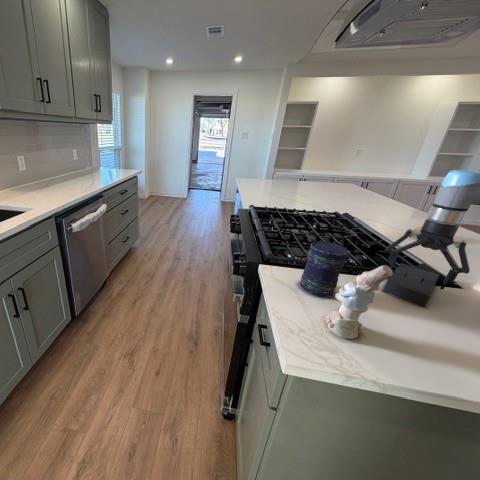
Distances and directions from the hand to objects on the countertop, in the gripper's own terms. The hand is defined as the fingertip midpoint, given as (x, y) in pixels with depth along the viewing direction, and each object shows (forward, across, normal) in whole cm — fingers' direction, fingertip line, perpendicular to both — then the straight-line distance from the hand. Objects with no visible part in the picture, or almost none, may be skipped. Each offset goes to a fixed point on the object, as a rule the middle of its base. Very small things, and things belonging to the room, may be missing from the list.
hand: (414, 279), depth 88 cm
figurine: (+1, +7, +46) cm, 47 cm away
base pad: (+1, 0, +10) cm, 10 cm away
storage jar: (+1, +19, +32) cm, 37 cm away
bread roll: (+1, +5, -61) cm, 61 cm away
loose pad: (+1, 0, +2) cm, 2 cm away
